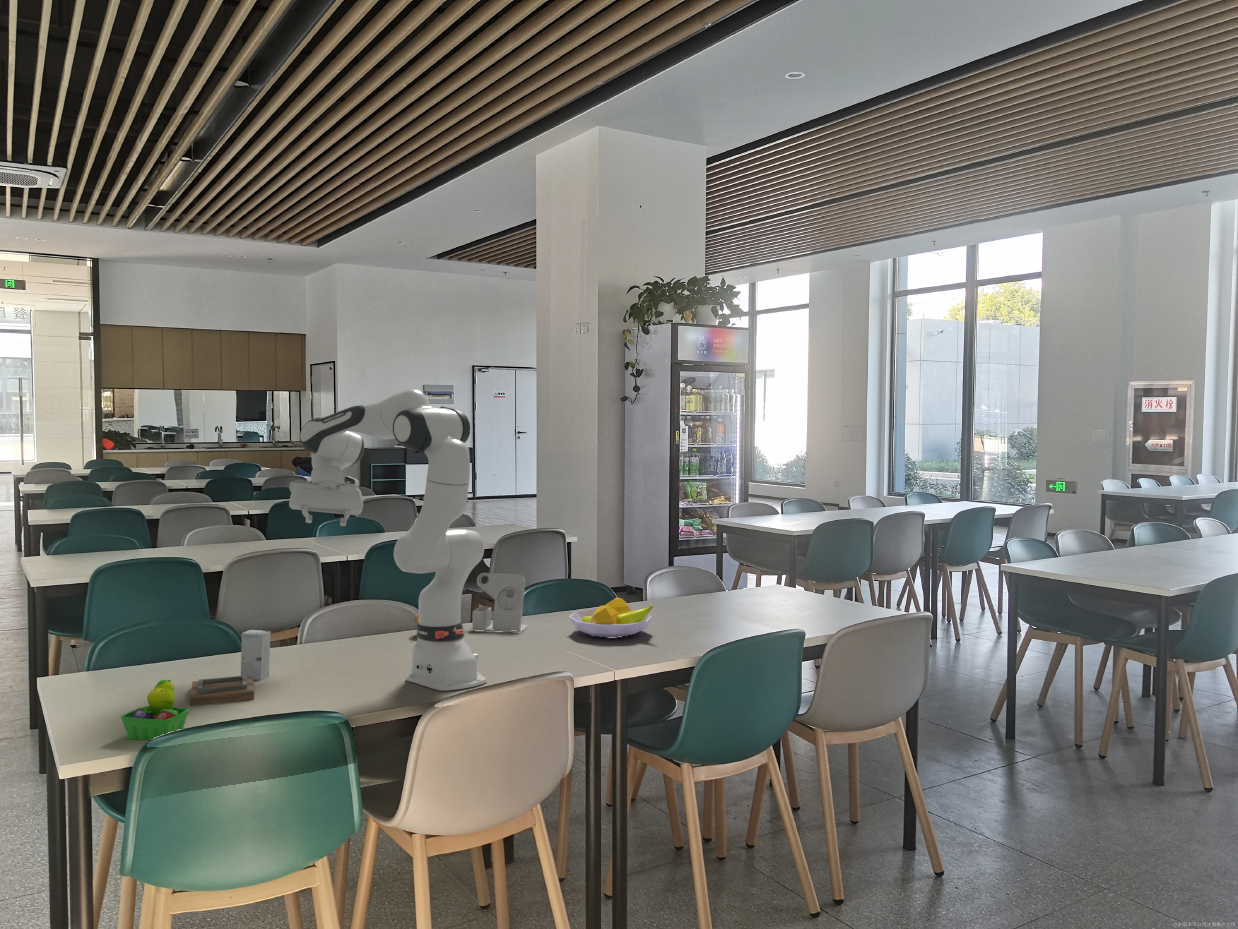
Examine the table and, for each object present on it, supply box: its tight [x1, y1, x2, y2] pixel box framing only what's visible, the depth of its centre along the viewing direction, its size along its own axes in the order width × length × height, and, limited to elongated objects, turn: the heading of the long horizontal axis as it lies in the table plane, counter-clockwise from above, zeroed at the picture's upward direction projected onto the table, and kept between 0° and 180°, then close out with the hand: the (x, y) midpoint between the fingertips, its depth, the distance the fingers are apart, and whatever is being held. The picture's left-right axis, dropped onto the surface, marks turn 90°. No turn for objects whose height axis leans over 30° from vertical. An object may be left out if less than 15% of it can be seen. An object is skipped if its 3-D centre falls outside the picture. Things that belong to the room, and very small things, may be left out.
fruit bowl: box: [568, 597, 654, 638], centre depth 291 cm, size 28×27×11 cm
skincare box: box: [240, 629, 272, 681], centre depth 236 cm, size 6×4×12 cm
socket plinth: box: [189, 675, 255, 706], centre depth 220 cm, size 14×14×3 cm
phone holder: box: [471, 572, 528, 633], centre depth 297 cm, size 17×10×18 cm, turn 81°
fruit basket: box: [120, 679, 190, 741], centre depth 190 cm, size 11×9×11 cm
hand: (326, 523), depth 254 cm, fingers open, 8 cm apart
